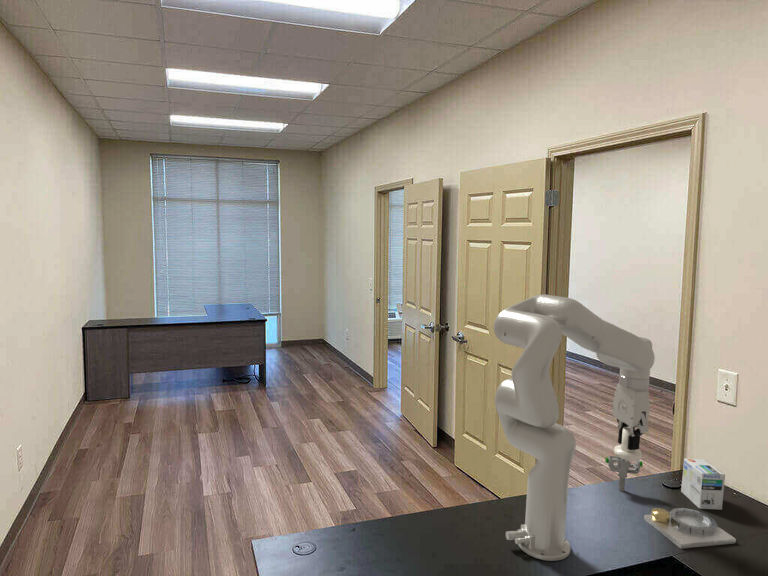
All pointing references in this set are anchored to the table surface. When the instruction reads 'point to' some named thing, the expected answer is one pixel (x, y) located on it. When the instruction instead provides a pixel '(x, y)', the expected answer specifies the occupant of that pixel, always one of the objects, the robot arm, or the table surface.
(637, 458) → the white door knob
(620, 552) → the table surface
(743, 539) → the table surface
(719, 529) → the carrier plate
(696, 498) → the light bulb box
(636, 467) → the mechanical component
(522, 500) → the table surface
